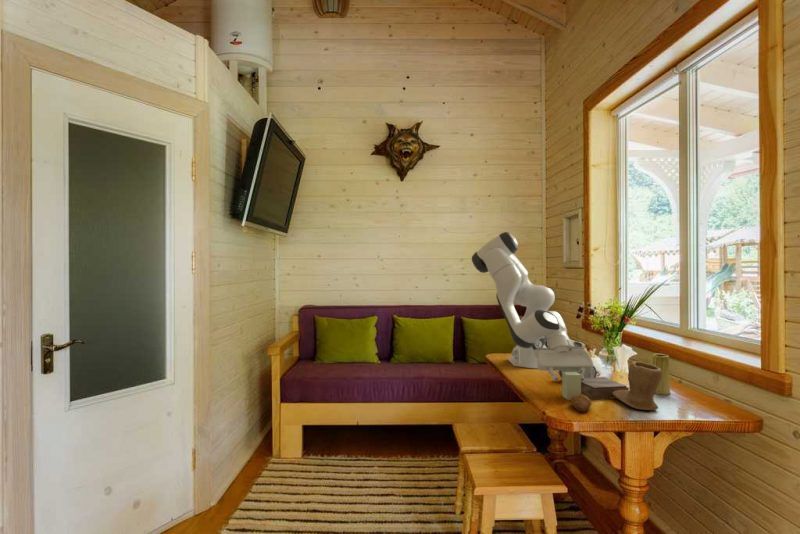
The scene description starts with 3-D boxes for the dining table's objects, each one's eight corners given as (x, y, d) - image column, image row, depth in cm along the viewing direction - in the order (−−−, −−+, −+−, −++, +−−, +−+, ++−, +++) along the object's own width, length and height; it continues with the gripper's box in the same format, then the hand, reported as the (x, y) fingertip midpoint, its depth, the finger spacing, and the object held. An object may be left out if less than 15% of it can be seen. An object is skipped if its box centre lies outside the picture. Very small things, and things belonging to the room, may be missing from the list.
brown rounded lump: (569, 401, 155) (569, 387, 155) (590, 403, 152) (590, 389, 152) (570, 413, 142) (570, 398, 142) (593, 415, 140) (593, 400, 140)
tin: (594, 381, 181) (595, 360, 181) (597, 383, 178) (597, 362, 178) (557, 380, 182) (557, 360, 182) (559, 382, 179) (559, 361, 179)
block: (562, 395, 160) (562, 371, 160) (575, 395, 160) (575, 371, 160) (566, 399, 155) (567, 374, 155) (581, 400, 155) (581, 375, 155)
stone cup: (669, 413, 141) (669, 367, 141) (632, 412, 142) (632, 367, 141) (644, 399, 156) (644, 357, 156) (611, 398, 157) (611, 357, 157)
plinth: (572, 388, 170) (572, 378, 170) (604, 386, 172) (604, 376, 172) (593, 399, 156) (593, 388, 156) (628, 397, 158) (628, 386, 158)
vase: (657, 389, 168) (658, 352, 168) (673, 393, 162) (673, 355, 162) (647, 391, 165) (648, 354, 165) (663, 395, 160) (663, 357, 160)
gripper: (534, 343, 166) (542, 374, 157) (588, 343, 166) (599, 375, 156) (531, 352, 171) (538, 383, 161) (583, 352, 170) (594, 384, 161)
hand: (568, 379), depth 159 cm, fingers open, 8 cm apart
